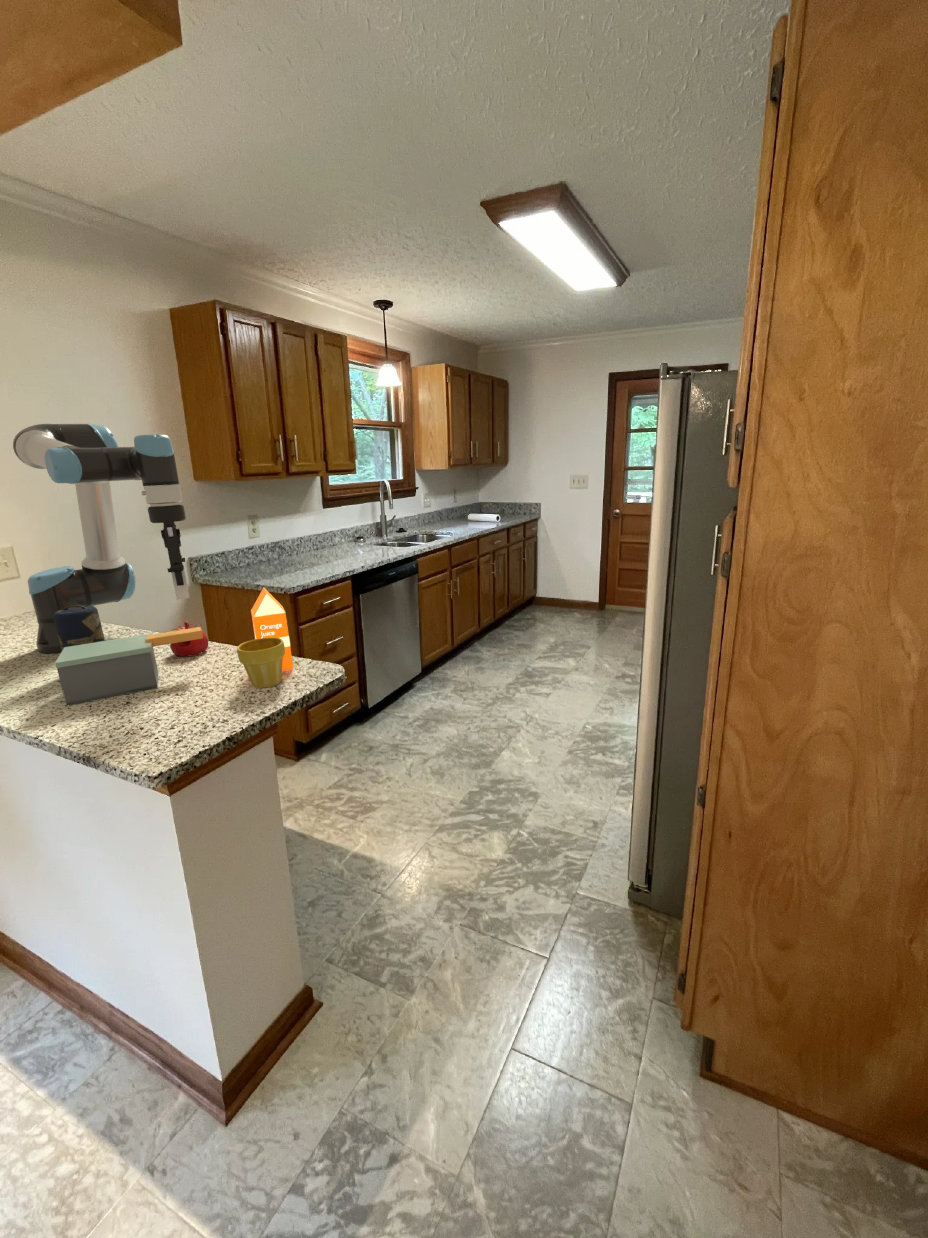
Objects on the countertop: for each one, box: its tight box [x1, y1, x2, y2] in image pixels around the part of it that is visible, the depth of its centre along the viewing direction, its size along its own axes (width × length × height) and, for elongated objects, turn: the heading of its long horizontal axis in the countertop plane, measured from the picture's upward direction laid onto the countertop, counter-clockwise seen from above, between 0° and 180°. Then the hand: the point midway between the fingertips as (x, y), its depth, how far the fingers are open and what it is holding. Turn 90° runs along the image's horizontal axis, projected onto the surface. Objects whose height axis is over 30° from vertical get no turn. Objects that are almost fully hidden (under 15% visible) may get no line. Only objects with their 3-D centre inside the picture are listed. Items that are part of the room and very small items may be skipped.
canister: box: [53, 605, 106, 651], centre depth 143 cm, size 10×10×18 cm
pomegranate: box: [169, 621, 209, 657], centre depth 155 cm, size 10×10×9 cm
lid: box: [54, 626, 203, 669], centre depth 133 cm, size 13×30×2 cm, turn 117°
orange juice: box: [250, 587, 294, 671], centre depth 140 cm, size 8×9×20 cm
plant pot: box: [236, 637, 285, 689], centre depth 130 cm, size 10×10×10 cm
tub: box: [56, 648, 159, 706], centre depth 132 cm, size 12×18×9 cm, turn 117°
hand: (182, 593), depth 135 cm, fingers open, 13 cm apart
